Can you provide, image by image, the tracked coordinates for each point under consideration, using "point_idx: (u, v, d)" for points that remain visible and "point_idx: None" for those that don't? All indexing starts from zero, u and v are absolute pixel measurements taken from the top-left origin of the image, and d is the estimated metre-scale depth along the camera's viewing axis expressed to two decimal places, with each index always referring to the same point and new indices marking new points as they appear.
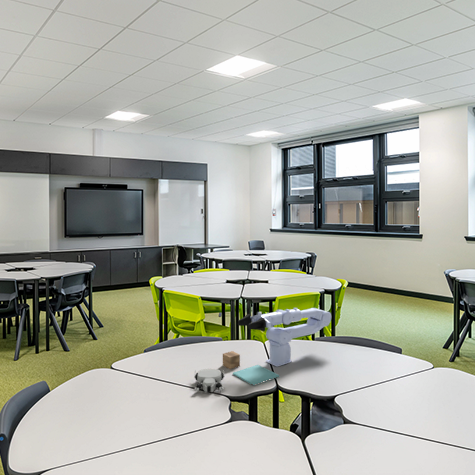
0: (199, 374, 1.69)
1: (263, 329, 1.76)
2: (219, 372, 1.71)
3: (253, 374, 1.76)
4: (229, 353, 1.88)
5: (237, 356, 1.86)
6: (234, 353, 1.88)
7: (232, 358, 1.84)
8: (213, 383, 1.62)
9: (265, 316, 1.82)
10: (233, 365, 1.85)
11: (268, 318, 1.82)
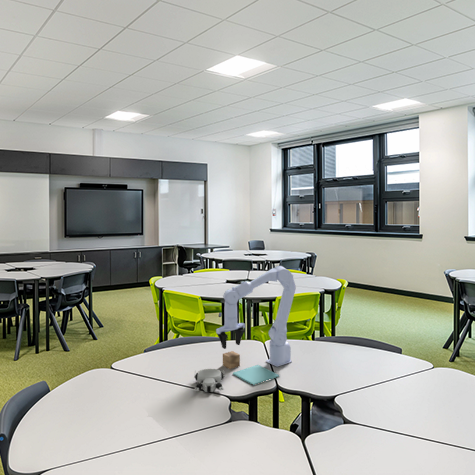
0: (199, 374, 1.69)
1: (222, 336, 1.81)
2: (219, 372, 1.71)
3: (253, 374, 1.76)
4: (229, 353, 1.88)
5: (237, 356, 1.86)
6: (234, 353, 1.88)
7: (232, 358, 1.84)
8: (213, 383, 1.62)
9: None
10: (233, 365, 1.85)
11: (224, 320, 1.85)
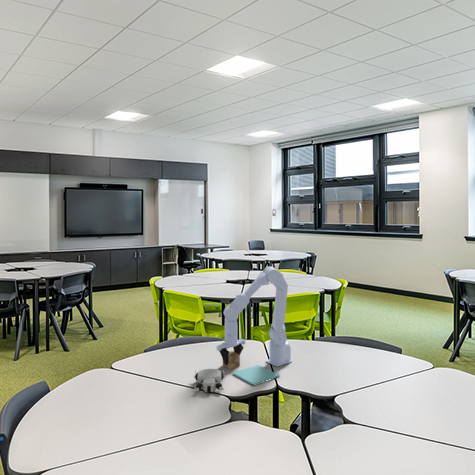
0: (199, 374, 1.69)
1: (224, 353, 1.82)
2: (219, 372, 1.71)
3: (253, 374, 1.76)
4: (229, 353, 1.88)
5: (237, 356, 1.86)
6: (234, 352, 1.88)
7: (232, 358, 1.84)
8: (213, 383, 1.62)
9: None
10: (233, 364, 1.85)
11: None
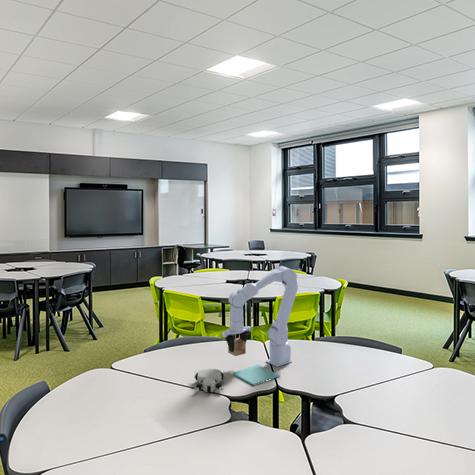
0: (199, 374, 1.69)
1: (229, 339, 1.79)
2: (219, 372, 1.71)
3: (253, 374, 1.76)
4: (235, 340, 1.85)
5: (243, 343, 1.82)
6: (239, 339, 1.85)
7: (238, 345, 1.81)
8: (213, 383, 1.62)
9: None
10: (239, 351, 1.81)
11: (230, 323, 1.83)
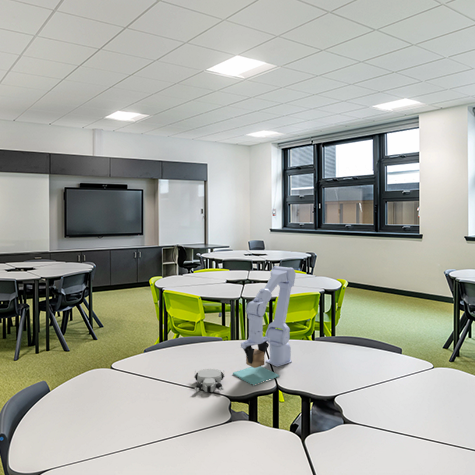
0: (199, 374, 1.69)
1: (249, 351, 1.71)
2: (219, 372, 1.71)
3: (253, 374, 1.76)
4: None
5: (262, 354, 1.75)
6: (258, 350, 1.77)
7: (257, 356, 1.73)
8: (213, 383, 1.62)
9: None
10: (258, 363, 1.74)
11: (249, 334, 1.75)
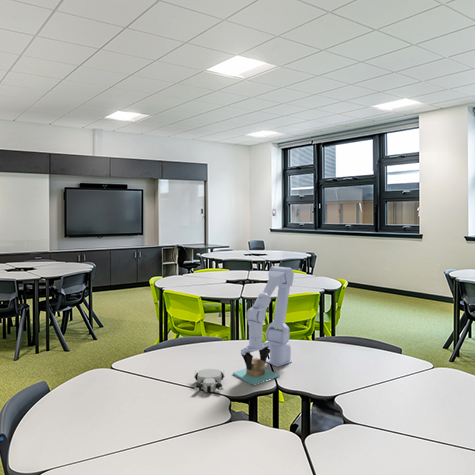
0: (199, 374, 1.69)
1: (247, 357, 1.71)
2: (219, 372, 1.71)
3: None
4: (253, 360, 1.77)
5: (262, 363, 1.75)
6: (258, 360, 1.78)
7: (257, 365, 1.73)
8: (213, 383, 1.62)
9: None
10: (258, 372, 1.74)
11: (249, 340, 1.75)
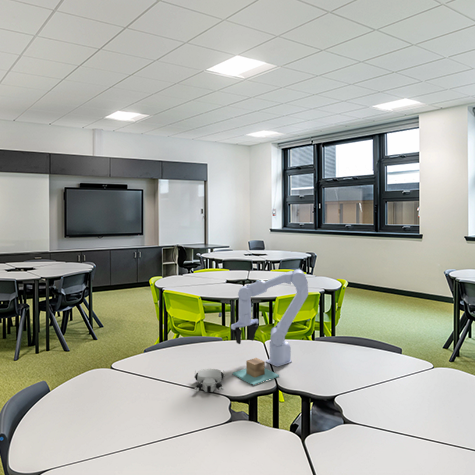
0: (199, 374, 1.69)
1: (237, 332, 1.86)
2: (219, 372, 1.71)
3: None
4: (253, 360, 1.77)
5: (262, 363, 1.75)
6: (258, 360, 1.78)
7: (257, 365, 1.73)
8: (213, 383, 1.62)
9: None
10: (258, 372, 1.74)
11: None
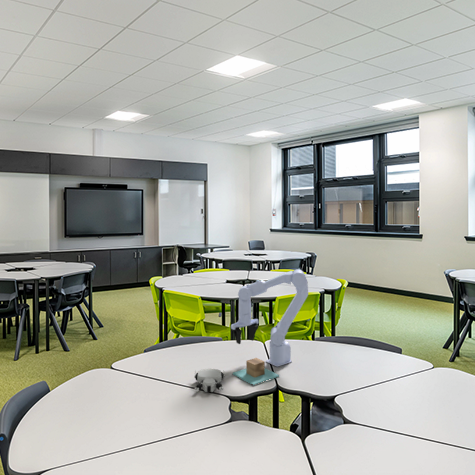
0: (199, 374, 1.69)
1: (237, 332, 1.86)
2: (219, 372, 1.71)
3: None
4: (253, 360, 1.77)
5: (262, 363, 1.75)
6: (258, 360, 1.78)
7: (257, 365, 1.73)
8: (213, 383, 1.62)
9: None
10: (258, 372, 1.74)
11: None
